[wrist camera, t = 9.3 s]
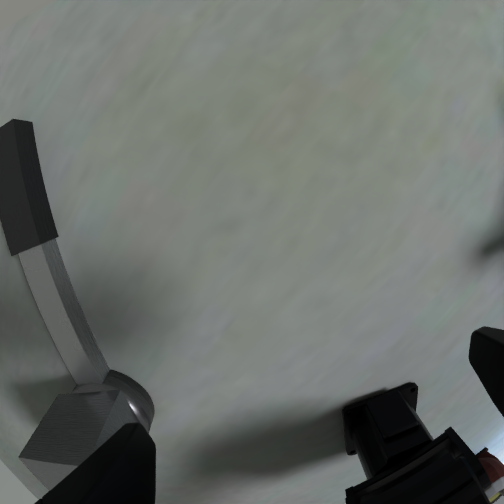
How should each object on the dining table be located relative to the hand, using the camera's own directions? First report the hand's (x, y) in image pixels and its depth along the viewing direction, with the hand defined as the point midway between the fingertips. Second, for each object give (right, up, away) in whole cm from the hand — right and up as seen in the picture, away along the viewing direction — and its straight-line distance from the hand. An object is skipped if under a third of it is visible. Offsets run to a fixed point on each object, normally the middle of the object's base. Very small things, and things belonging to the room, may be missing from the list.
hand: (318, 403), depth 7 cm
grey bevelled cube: (-12, -8, +11) cm, 19 cm away
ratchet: (-14, 0, +12) cm, 18 cm away
